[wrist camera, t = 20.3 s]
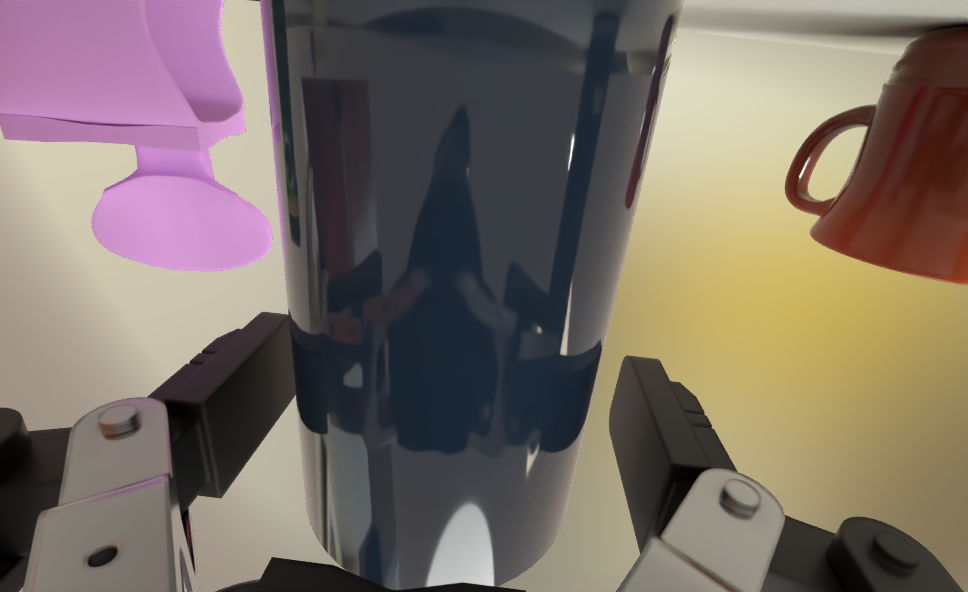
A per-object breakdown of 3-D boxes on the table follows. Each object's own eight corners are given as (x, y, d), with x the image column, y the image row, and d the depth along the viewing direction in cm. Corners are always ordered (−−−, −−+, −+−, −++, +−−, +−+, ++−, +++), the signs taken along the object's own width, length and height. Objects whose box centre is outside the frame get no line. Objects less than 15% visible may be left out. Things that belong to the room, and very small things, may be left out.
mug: (1117, 12, 15) (956, 295, 20) (1214, 43, 19) (1057, 281, 23) (788, 28, 25) (729, 214, 30) (888, 47, 29) (821, 212, 33)
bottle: (550, -741, 2) (418, 856, 11) (797, -182, 7) (567, 642, 15) (143, -285, 6) (280, 643, 15) (477, -113, 11) (434, 521, 19)
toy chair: (188, -92, 15) (246, 334, 21) (259, -37, 22) (285, 261, 29) (-149, -143, 13) (24, 335, 19) (55, -64, 21) (130, 257, 27)
